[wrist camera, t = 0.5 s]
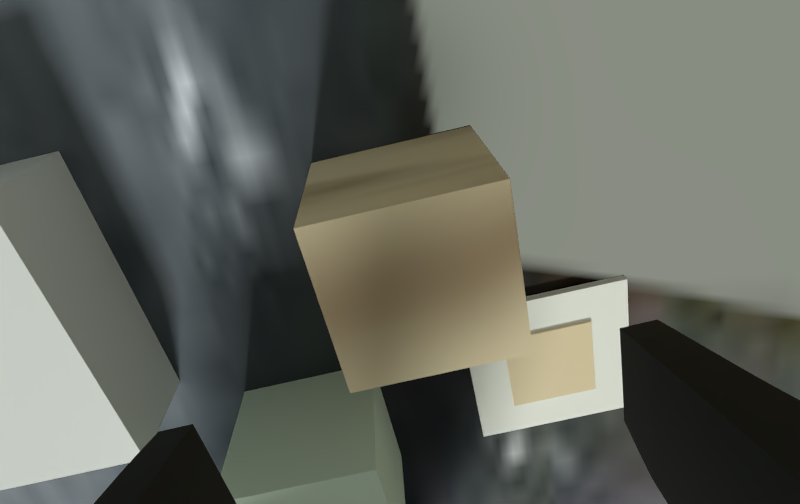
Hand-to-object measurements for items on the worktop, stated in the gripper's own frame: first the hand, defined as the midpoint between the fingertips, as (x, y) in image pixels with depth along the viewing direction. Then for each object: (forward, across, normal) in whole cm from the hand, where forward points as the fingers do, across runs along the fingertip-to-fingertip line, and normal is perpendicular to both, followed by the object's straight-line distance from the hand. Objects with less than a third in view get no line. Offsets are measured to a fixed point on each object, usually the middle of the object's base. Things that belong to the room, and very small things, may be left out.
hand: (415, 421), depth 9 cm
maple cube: (+10, 0, 0) cm, 10 cm away
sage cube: (+10, +5, +8) cm, 13 cm away
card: (+9, -4, +7) cm, 13 cm away
